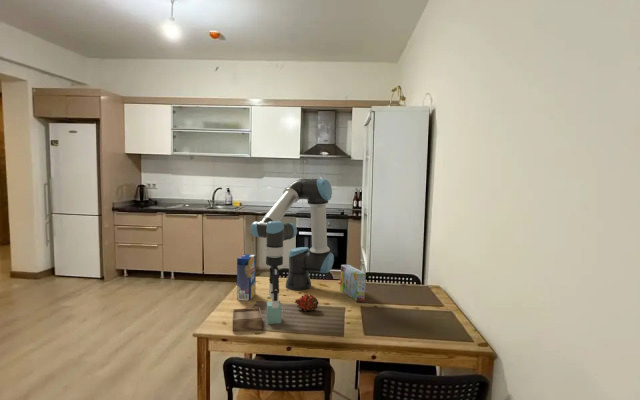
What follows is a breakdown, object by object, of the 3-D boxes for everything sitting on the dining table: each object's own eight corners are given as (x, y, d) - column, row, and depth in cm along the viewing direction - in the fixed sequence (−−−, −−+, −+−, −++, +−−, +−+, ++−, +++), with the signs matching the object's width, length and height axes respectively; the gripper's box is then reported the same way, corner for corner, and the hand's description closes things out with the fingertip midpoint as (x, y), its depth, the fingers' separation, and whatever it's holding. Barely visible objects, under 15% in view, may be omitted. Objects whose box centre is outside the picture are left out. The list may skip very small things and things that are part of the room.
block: (279, 317, 165) (279, 300, 165) (281, 323, 159) (281, 305, 159) (266, 318, 164) (266, 301, 163) (267, 324, 158) (267, 306, 157)
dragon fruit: (319, 315, 173) (296, 316, 176) (322, 300, 179) (299, 301, 182) (315, 305, 168) (291, 306, 171) (317, 290, 174) (294, 291, 177)
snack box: (365, 300, 190) (366, 273, 189) (356, 302, 188) (357, 274, 187) (348, 289, 210) (348, 263, 209) (339, 290, 208) (340, 264, 207)
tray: (259, 318, 164) (260, 307, 164) (261, 329, 152) (261, 317, 152) (233, 319, 162) (233, 309, 161) (232, 331, 150) (232, 319, 150)
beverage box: (255, 293, 198) (255, 254, 196) (249, 300, 187) (249, 259, 186) (243, 293, 199) (243, 254, 197) (236, 299, 188) (237, 258, 186)
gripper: (264, 250, 171) (263, 294, 172) (268, 262, 147) (267, 312, 148) (279, 250, 173) (279, 293, 174) (286, 261, 148) (285, 311, 149)
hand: (273, 302), depth 161 cm, fingers open, 13 cm apart
